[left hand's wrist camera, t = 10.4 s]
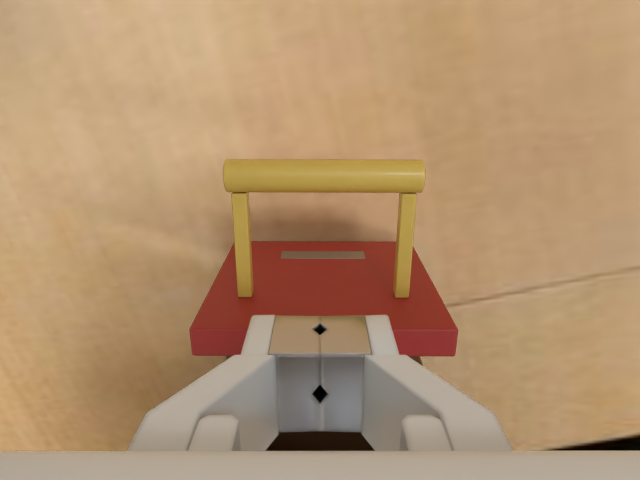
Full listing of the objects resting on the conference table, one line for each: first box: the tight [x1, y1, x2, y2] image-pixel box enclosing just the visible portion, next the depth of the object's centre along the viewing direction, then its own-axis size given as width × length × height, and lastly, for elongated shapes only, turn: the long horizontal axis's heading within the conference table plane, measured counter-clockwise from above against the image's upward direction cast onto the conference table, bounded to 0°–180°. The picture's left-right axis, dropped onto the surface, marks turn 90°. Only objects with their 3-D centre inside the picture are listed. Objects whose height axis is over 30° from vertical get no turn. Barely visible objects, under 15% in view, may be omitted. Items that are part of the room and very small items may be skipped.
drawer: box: [190, 159, 458, 451], centre depth 23 cm, size 22×10×10 cm, turn 0°
